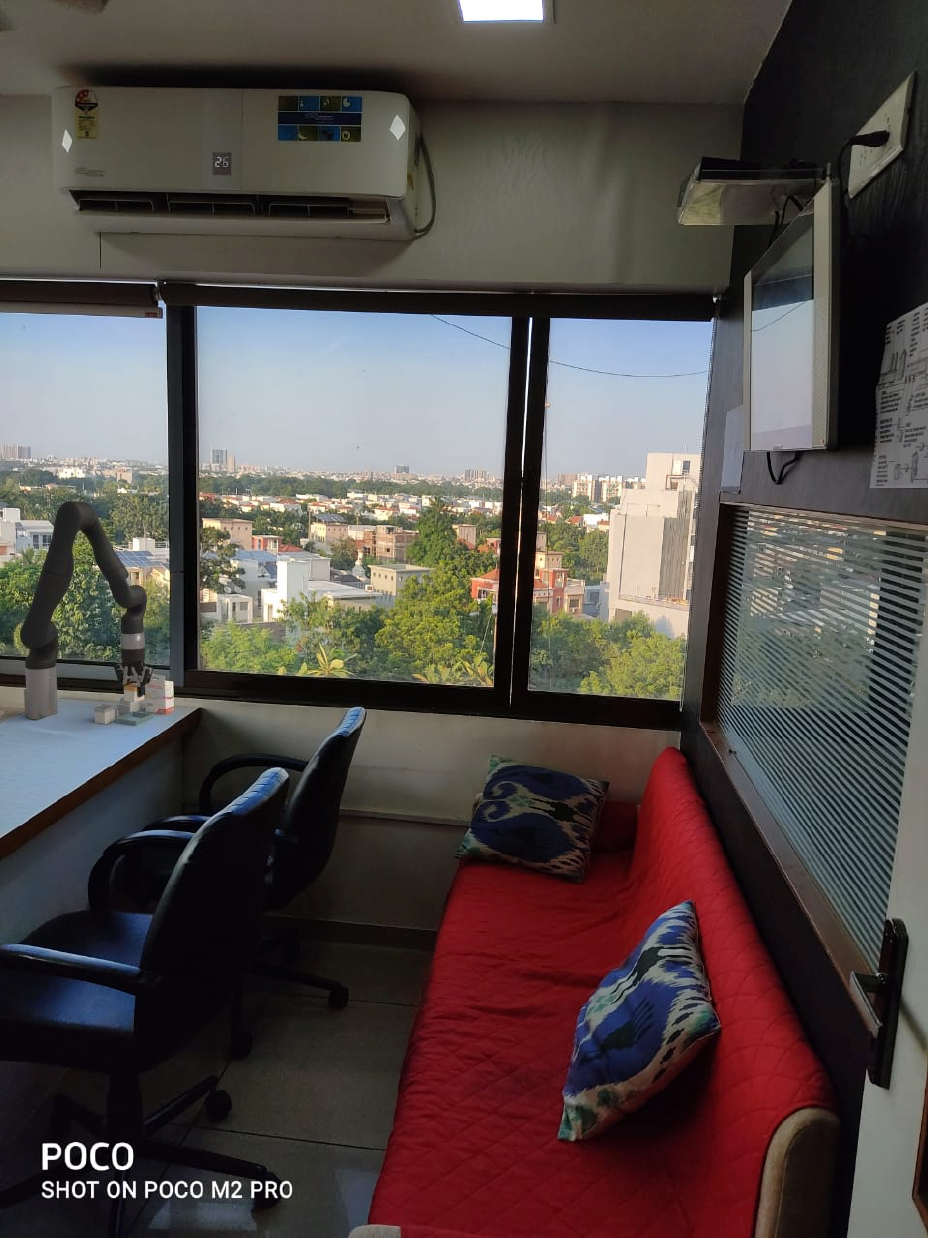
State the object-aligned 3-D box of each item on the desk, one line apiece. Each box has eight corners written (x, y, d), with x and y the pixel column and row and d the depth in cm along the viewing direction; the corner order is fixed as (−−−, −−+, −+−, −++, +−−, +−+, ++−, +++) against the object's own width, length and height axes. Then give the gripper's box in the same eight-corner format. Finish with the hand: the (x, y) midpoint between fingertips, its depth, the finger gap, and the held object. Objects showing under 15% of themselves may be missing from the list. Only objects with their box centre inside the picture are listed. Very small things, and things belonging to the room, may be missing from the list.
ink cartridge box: (174, 713, 293) (174, 673, 290) (165, 717, 288) (165, 676, 286) (154, 710, 295) (153, 670, 293) (144, 714, 290) (144, 673, 288)
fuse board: (89, 725, 276) (89, 707, 275) (127, 710, 294) (126, 693, 293) (108, 727, 274) (107, 710, 273) (144, 712, 292) (144, 696, 291)
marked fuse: (123, 700, 277) (123, 686, 276) (133, 697, 282) (133, 682, 281) (134, 702, 276) (134, 688, 275) (144, 698, 281) (144, 684, 280)
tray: (114, 725, 277) (114, 718, 276) (132, 718, 285) (132, 711, 285) (136, 728, 275) (136, 721, 274) (153, 721, 283) (153, 714, 283)
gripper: (106, 645, 274) (108, 696, 277) (144, 650, 270) (145, 701, 273) (121, 641, 281) (123, 691, 284) (158, 645, 277) (159, 695, 280)
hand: (134, 695), depth 278 cm, fingers closed on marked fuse, 4 cm apart
